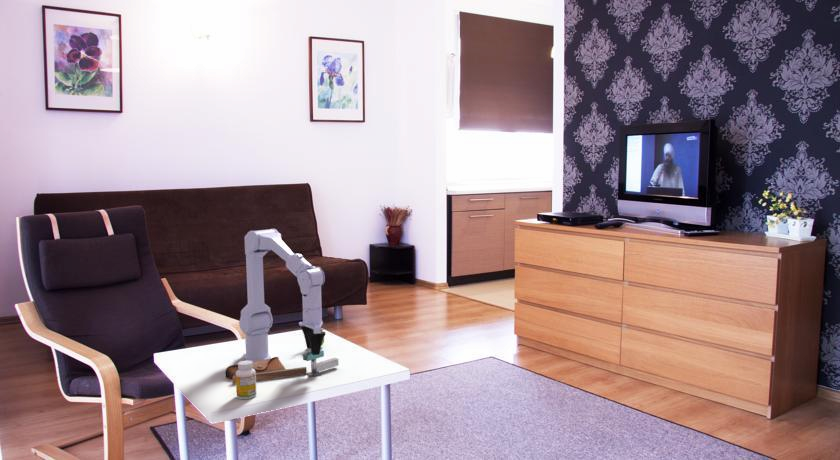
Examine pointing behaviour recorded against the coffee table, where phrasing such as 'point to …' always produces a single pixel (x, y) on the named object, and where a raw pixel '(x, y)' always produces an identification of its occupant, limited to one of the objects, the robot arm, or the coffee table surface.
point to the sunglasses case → (257, 367)
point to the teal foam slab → (321, 365)
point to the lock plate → (313, 374)
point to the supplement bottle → (245, 380)
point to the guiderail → (278, 374)
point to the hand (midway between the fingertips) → (313, 351)
